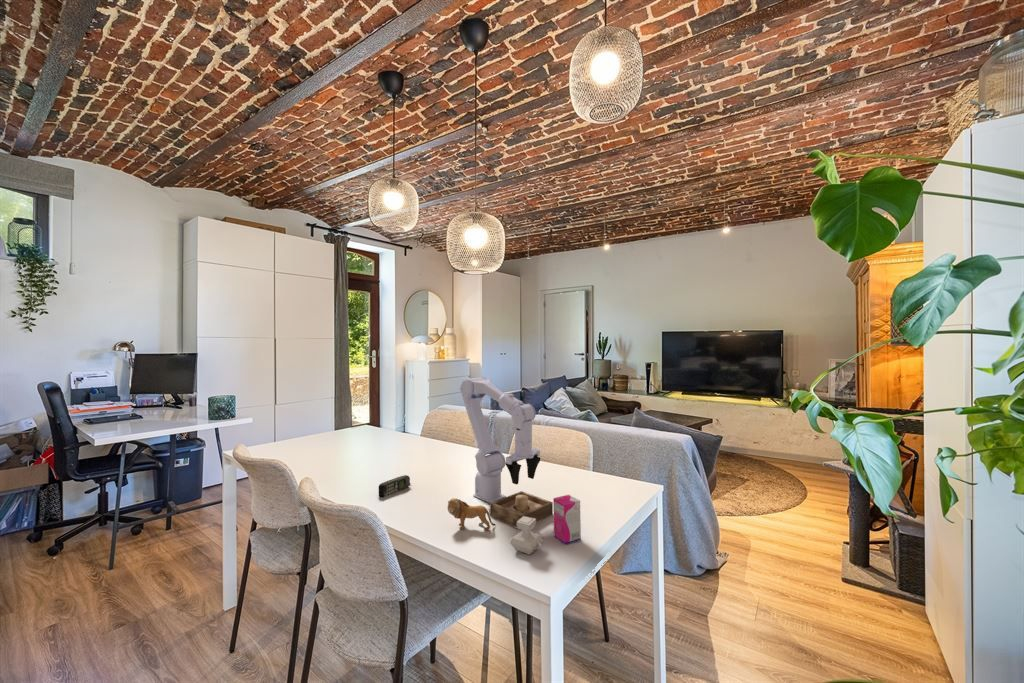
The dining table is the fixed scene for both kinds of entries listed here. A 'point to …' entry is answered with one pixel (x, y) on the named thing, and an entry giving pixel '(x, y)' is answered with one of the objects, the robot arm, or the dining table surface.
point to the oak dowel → (521, 502)
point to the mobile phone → (394, 485)
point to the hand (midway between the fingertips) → (523, 480)
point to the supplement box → (567, 519)
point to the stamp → (526, 536)
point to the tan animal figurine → (468, 512)
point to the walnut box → (510, 515)
